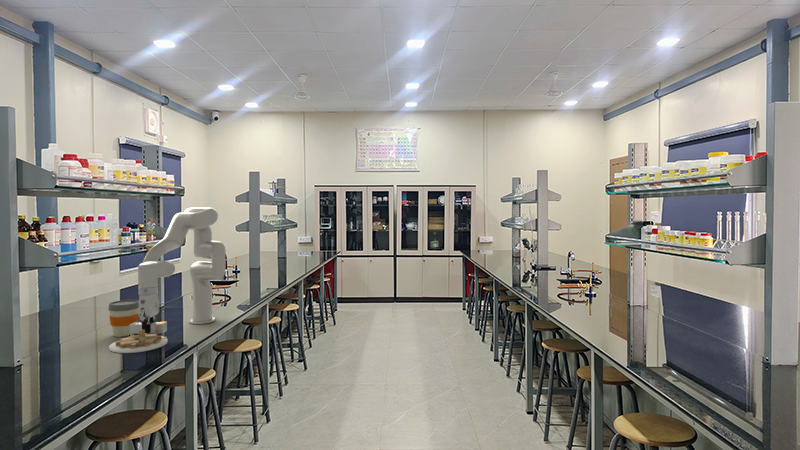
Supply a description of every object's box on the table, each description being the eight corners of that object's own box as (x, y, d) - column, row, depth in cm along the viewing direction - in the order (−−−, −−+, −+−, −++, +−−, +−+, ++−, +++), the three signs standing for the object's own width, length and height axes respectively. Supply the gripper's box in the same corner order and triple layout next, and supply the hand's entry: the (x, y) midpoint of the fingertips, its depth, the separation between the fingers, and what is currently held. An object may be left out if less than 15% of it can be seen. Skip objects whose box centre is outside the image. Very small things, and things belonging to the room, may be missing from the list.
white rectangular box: (134, 331, 201) (134, 322, 201) (166, 330, 203) (166, 321, 202) (129, 333, 197) (129, 324, 197) (162, 333, 199) (162, 323, 198)
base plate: (125, 338, 206) (125, 334, 206) (175, 337, 207) (175, 334, 207) (97, 353, 184) (97, 350, 184) (153, 352, 186) (153, 349, 186)
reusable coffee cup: (123, 329, 220) (123, 299, 219) (146, 331, 217) (145, 300, 217) (102, 336, 207) (101, 304, 207) (125, 338, 205) (125, 305, 204)
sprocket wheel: (112, 341, 197) (112, 326, 196) (156, 334, 208) (156, 320, 207) (119, 351, 183) (119, 335, 183) (165, 343, 195) (165, 328, 194)
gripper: (148, 294, 191) (148, 336, 192) (165, 287, 208) (165, 326, 209) (129, 294, 191) (130, 337, 191) (148, 287, 207) (148, 326, 208)
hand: (148, 331), depth 200 cm, fingers closed on white rectangular box, 4 cm apart
